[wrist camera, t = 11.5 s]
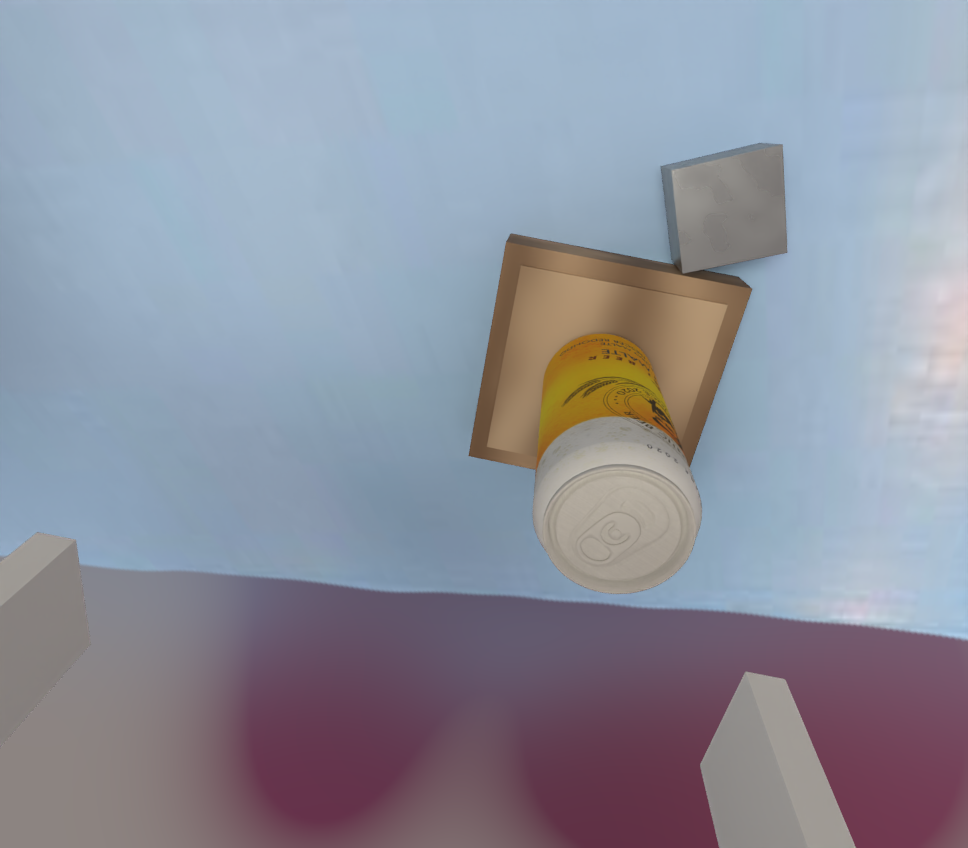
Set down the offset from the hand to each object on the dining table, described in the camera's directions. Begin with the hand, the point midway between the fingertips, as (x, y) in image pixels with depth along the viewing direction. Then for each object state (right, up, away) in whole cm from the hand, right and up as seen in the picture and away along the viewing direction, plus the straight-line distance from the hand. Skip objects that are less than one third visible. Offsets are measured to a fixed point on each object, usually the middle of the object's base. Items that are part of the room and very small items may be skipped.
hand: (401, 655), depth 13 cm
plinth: (+8, +8, +26) cm, 29 cm away
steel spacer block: (+14, +16, +22) cm, 31 cm away
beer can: (+8, +7, +23) cm, 26 cm away
